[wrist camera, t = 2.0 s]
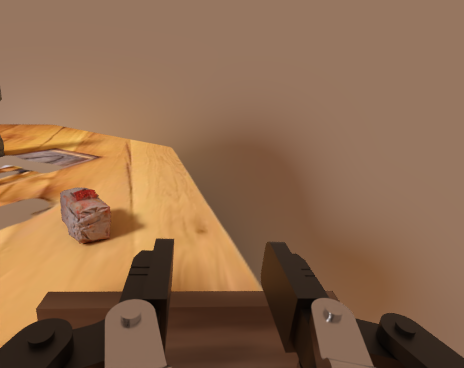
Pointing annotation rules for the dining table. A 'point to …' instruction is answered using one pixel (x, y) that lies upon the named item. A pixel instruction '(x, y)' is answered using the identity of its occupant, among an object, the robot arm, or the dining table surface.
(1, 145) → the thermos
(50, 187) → the dining table surface
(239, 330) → the panel
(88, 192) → the food item
